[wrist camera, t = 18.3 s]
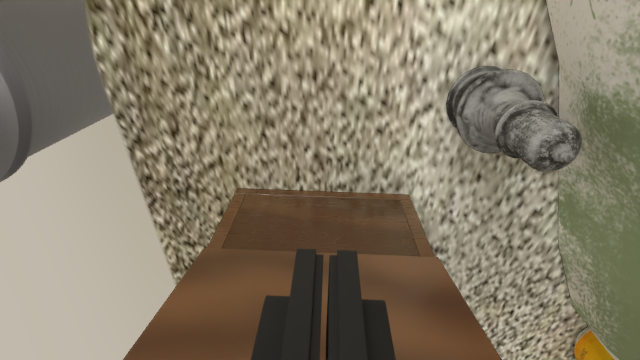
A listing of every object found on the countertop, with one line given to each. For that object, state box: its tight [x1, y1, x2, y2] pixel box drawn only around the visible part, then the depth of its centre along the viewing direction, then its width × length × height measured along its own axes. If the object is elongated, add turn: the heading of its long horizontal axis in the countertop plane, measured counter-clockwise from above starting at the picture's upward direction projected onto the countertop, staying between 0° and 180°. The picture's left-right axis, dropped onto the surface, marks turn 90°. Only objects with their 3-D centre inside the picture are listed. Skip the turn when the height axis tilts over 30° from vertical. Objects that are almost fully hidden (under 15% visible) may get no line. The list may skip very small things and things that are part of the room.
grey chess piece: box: [446, 66, 582, 172], centre depth 23 cm, size 6×6×12 cm
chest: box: [207, 188, 435, 257], centre depth 32 cm, size 18×15×9 cm
